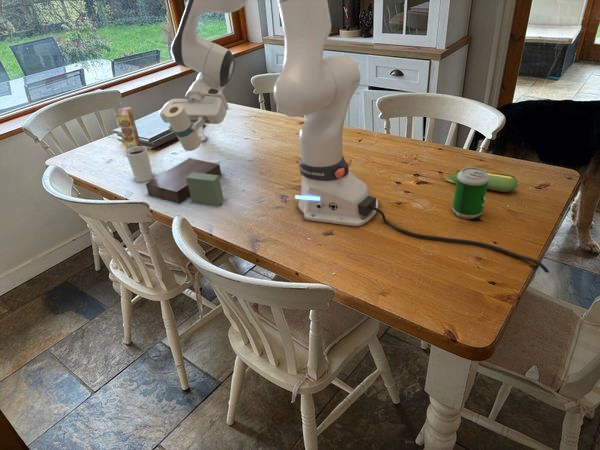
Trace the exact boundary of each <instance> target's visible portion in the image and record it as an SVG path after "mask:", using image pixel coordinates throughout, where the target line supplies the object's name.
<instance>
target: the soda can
mask: <svg viewBox="0 0 600 450" xmlns="http://www.w3.org/2000/svg"><path fill="white" fill-rule="evenodd" d="M459 171H460V172H459V173H458V175H457V181H456V183H455V187H454V195H453V202H452V208H451V209H452V211H453V213H455V215H456V216H457V217H458V218H461V219H465V220H474V219H476V218H478V217H480V216H481V215H483V212H484V207H485V202H486V196H487V191H488V189H487V187H488V182H489V176H488V174H487V173H486V172H487V171H486V170H484V169H482V168H479V167H473V166H471V167H469V166H468V167H465V168H463V169H461V170H459Z"/></svg>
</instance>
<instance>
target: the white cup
mask: <svg viewBox="0 0 600 450" xmlns="http://www.w3.org/2000/svg"><path fill="white" fill-rule="evenodd" d="M125 155H126V158H127V161H128V163H129V166H130V168H131V172H132V175H133V177H134V180H135V182H137V183H146V182H149V181H151V180H153V179H154V175H153V170H152V166H151V161H150V157H149V153H148V149H147V147H146V146H138V147H133V148H130V149H128V150H127V149H126V151H125Z"/></svg>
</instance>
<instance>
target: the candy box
mask: <svg viewBox="0 0 600 450" xmlns="http://www.w3.org/2000/svg"><path fill="white" fill-rule="evenodd" d="M132 109H133V108H132V107H131V106H127V107H122V108H119V112H118V113H117V119H118V122H119V123H118V124H119V126H120V129H121V133H122V137H123V141H124V145H125V149H126V150H128V149H130V148H133V147H138V146H141V145H142V144H141V140H140V136H139V132H138V129H137V124H136V121H135V117H134V114H133V110H132Z"/></svg>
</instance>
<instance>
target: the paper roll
mask: <svg viewBox="0 0 600 450" xmlns="http://www.w3.org/2000/svg"><path fill="white" fill-rule="evenodd" d="M164 114H165V116H166V118H167V120H168V121H169V125H171V127H172V128H173V131H172V132H174V134H175V136H176V137H177V139H178V142H179V143H180V145H181V147H182V148H183V150H184V151H185V152H192V151H195V150H197V149H198V148H199V147H201V144H202V142H201V140H200V138H199V136H198V134H197V132H191V130H190V126H191V124H192V122H191V121H190V119H189V117H188V115H187V113H186V111H185V109H184V107H183V105H182V104H173V105H171V106H169V107H168V108H167V109H166V110H165V112H164Z"/></svg>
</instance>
